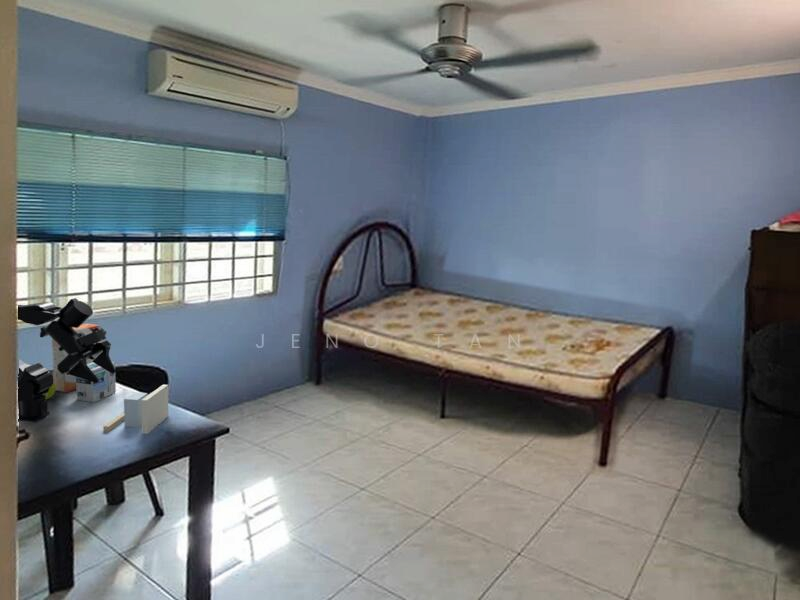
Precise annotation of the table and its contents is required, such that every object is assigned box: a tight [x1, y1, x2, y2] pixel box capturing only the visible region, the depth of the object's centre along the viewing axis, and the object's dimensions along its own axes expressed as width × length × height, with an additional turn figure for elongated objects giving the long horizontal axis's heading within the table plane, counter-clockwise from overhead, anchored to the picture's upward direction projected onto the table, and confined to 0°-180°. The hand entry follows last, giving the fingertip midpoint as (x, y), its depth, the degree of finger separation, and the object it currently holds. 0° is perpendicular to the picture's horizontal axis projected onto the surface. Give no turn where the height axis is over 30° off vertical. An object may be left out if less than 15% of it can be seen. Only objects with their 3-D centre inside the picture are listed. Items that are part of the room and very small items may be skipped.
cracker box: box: [51, 323, 100, 393], centre depth 194 cm, size 14×6×21 cm, turn 160°
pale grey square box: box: [123, 391, 149, 429], centre depth 166 cm, size 5×6×8 cm
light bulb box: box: [76, 361, 117, 403], centre depth 186 cm, size 11×7×11 cm, turn 168°
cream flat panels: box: [102, 384, 169, 435], centre depth 166 cm, size 12×14×10 cm
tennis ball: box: [43, 382, 56, 400], centre depth 181 cm, size 7×7×7 cm
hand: (106, 377), depth 165 cm, fingers open, 9 cm apart
